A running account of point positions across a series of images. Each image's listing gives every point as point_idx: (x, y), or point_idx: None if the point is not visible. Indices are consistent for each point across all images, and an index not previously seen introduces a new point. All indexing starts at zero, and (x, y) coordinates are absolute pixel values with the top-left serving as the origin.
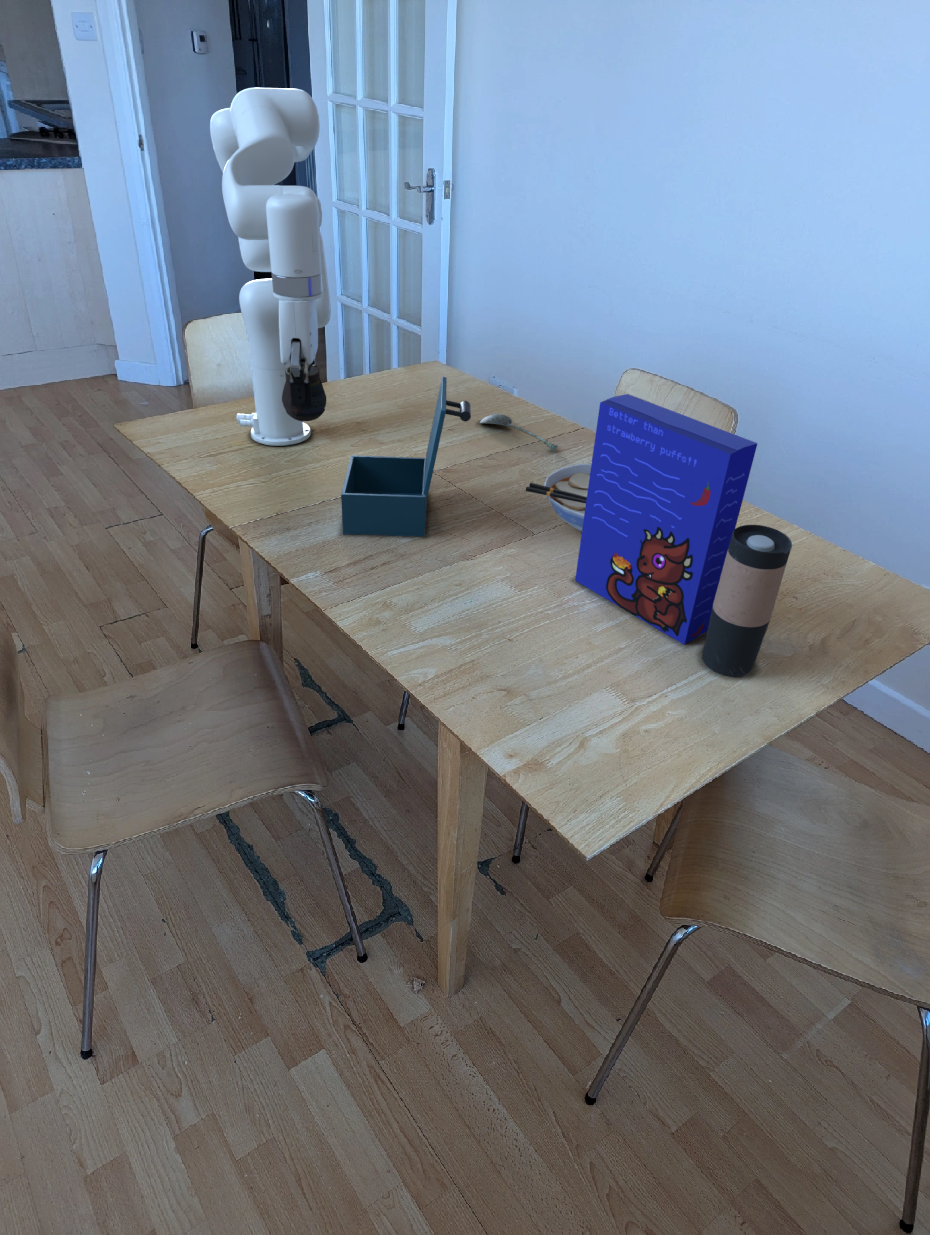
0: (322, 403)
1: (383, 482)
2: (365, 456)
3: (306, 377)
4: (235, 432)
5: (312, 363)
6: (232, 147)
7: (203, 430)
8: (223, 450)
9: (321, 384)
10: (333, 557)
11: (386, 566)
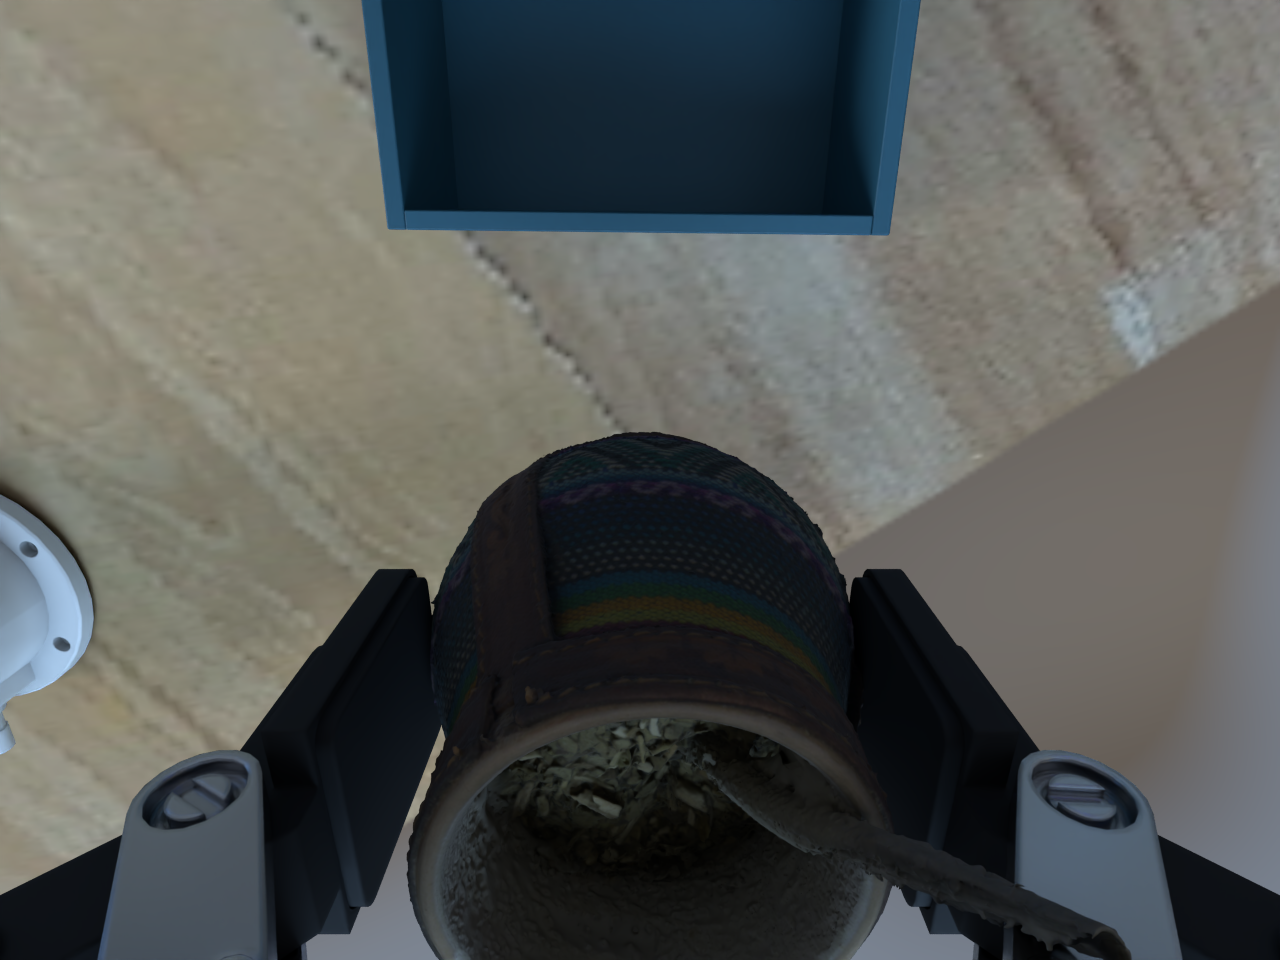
0: (746, 471)
1: (431, 48)
2: (389, 136)
3: (1159, 845)
4: (19, 735)
5: (266, 805)
6: None
7: (47, 826)
8: (189, 743)
9: (543, 556)
10: (1013, 248)
11: (1123, 2)
